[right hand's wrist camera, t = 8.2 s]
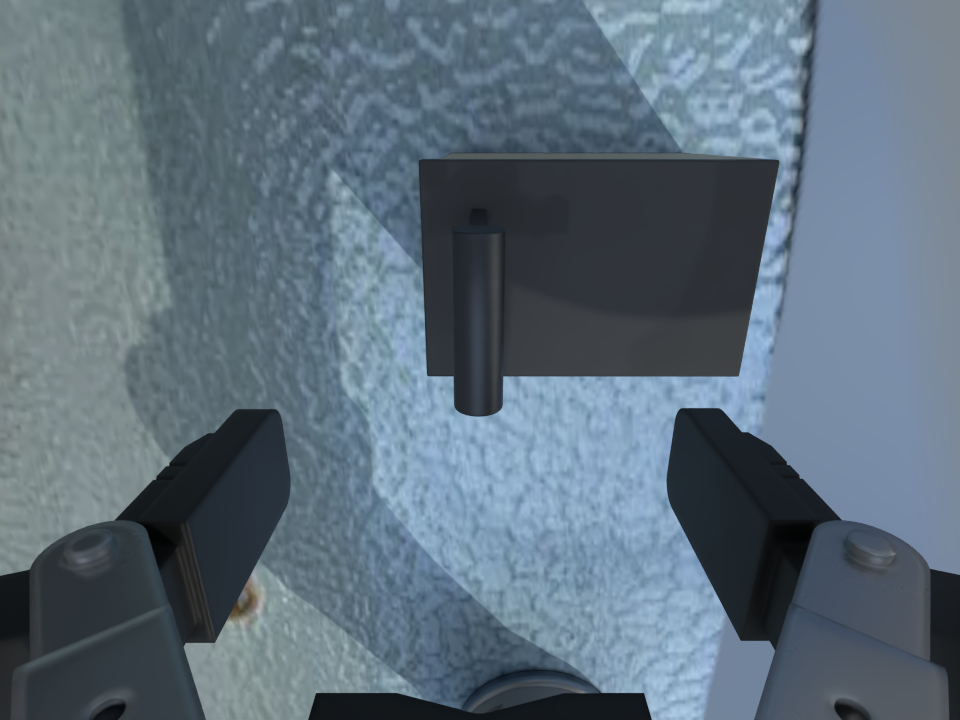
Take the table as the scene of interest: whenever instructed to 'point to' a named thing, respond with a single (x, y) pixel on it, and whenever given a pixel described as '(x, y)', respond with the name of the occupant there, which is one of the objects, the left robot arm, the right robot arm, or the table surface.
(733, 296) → the lid
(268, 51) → the table surface
